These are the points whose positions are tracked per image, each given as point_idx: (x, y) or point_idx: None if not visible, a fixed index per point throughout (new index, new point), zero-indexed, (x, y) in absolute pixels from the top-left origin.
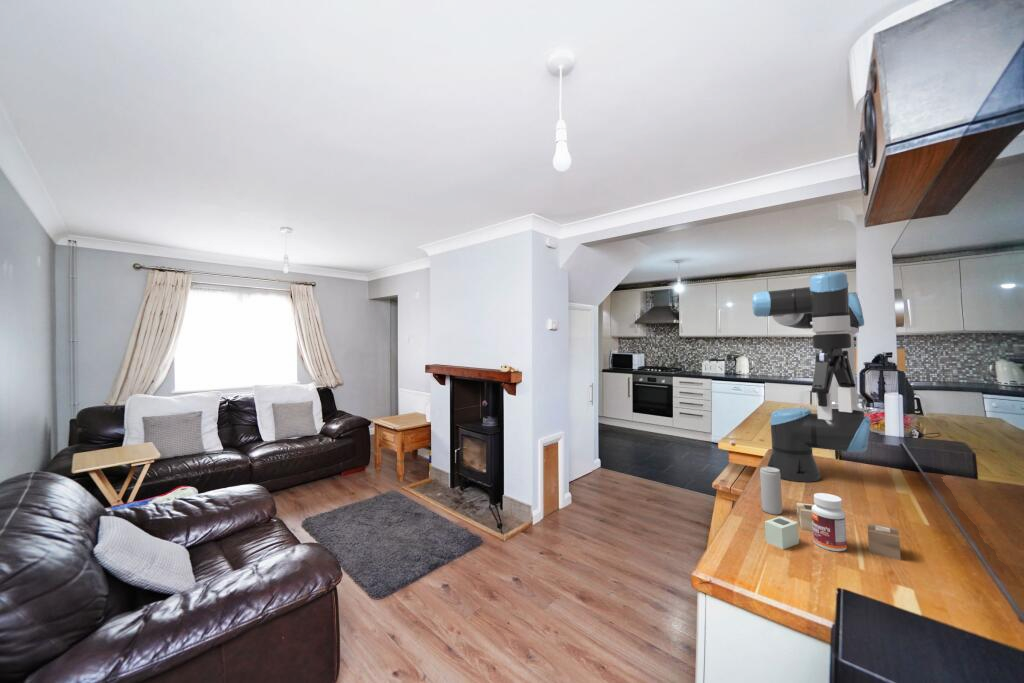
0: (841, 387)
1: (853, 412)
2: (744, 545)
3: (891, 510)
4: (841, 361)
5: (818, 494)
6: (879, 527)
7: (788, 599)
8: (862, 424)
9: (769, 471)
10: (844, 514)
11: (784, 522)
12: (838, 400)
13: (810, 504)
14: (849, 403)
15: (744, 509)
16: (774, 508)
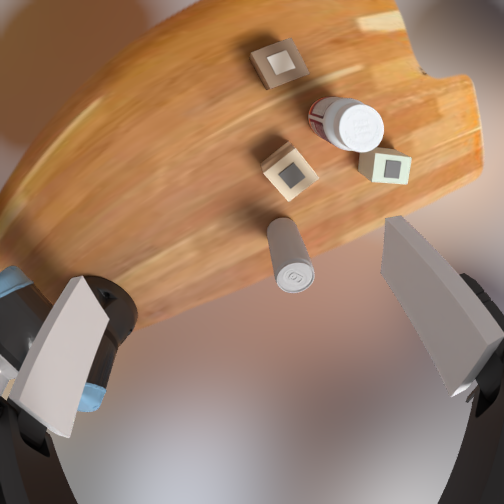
0: (52, 427)
1: None
2: (418, 182)
3: (91, 154)
4: None
5: (361, 146)
6: (279, 67)
7: (471, 103)
8: None
9: (312, 269)
10: (345, 99)
11: (393, 164)
12: (90, 365)
13: (274, 185)
14: (64, 318)
15: (311, 253)
16: (295, 225)
